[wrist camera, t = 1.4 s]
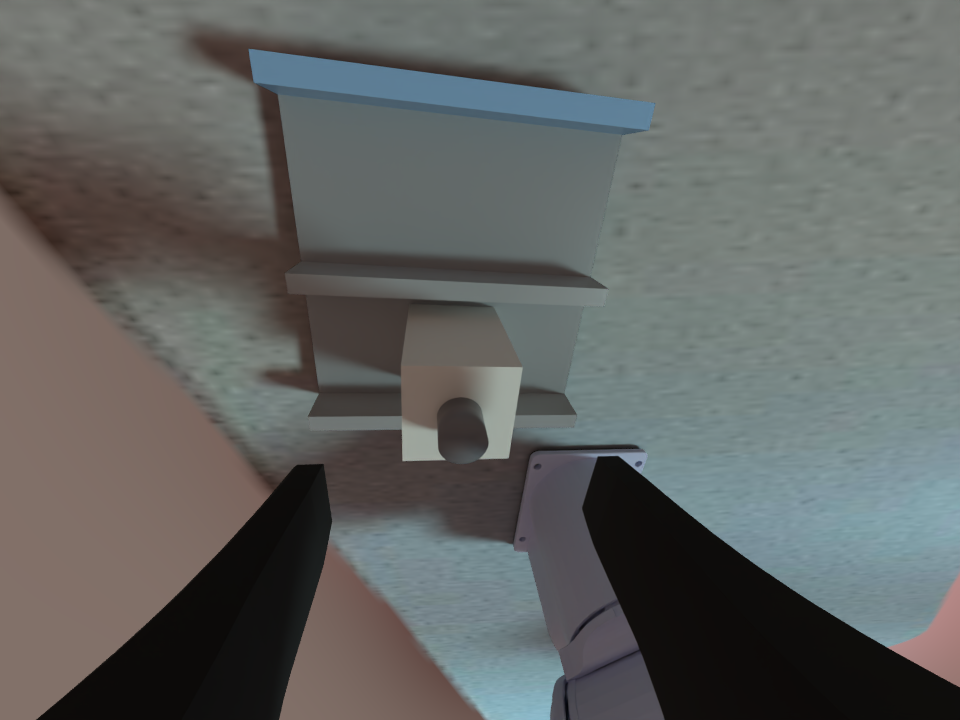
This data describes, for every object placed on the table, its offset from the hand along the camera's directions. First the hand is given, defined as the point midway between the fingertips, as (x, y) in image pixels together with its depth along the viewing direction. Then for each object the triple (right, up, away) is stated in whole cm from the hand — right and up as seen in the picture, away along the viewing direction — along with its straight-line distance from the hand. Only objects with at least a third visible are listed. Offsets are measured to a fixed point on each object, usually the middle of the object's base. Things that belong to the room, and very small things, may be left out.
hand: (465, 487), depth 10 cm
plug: (-1, +4, +8) cm, 9 cm away
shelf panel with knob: (-1, +8, +8) cm, 11 cm away
